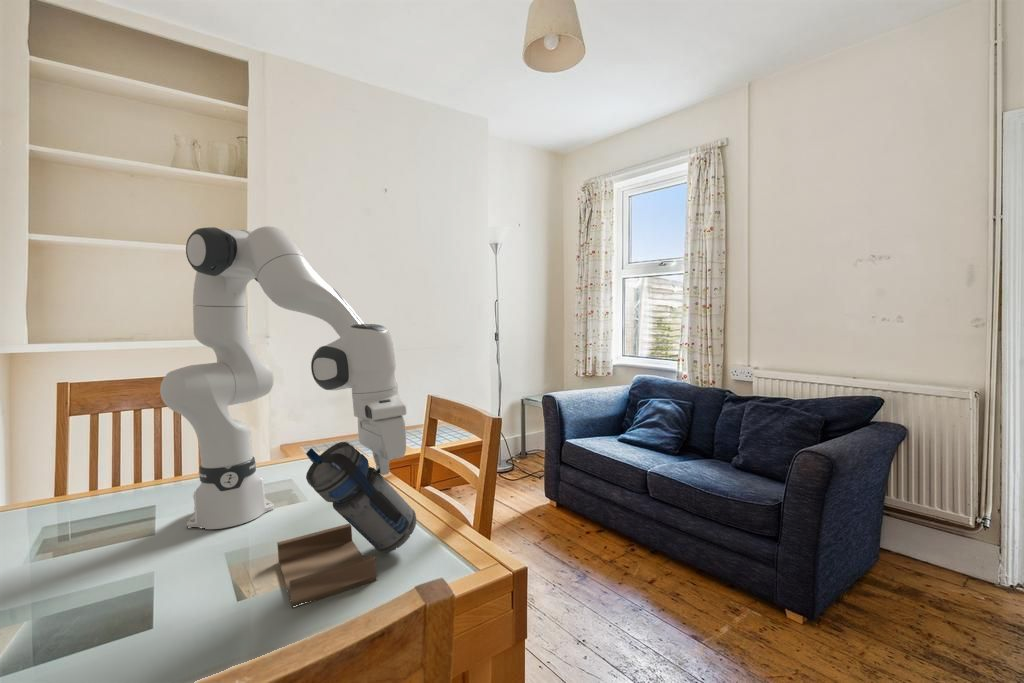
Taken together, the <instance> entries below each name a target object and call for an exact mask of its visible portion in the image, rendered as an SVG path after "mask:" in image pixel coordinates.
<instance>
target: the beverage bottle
mask: <svg viewBox="0 0 1024 683" xmlns="http://www.w3.org/2000/svg"><path fill="white" fill-rule="evenodd" d="M305 455H306V456H307V457H308V459H309V461H310V462H312V463H311V465H310V466H309V468H308V470H307V472H306V475H305V478H306V481H307V483H308V485H309V486H310V487H311V488H313V490H314V491H315V492H316V493H317V494H318V495H319V496H320V497H321V498H322V499H323V500H324V501H325V502H327V503H332V508H333V509H334V511H335V512H336V513H338V514H339V515H340V516H341V517H342V518H343V519H344V520H346V521H347V523H348V524H349V523H350V525H351V527H353V529H355V530H356V531H357V532H358V533H359V534H360V535H361V536H362V537H364V539H365V540H367V542H369V543H370V545H372V547H373V548H375V550H377V551H378V552H381V553H382V552H383V553H390V552H393V551H396V550H397V549H399V548H400V547H402V546H403V545H404V544H405V543H406V542H407V541H408V540H409V539H410V537H411V535H413V533H414V530H415V528H416V526H417V516H416V511H415V510H414V509H413V508H412V507H411V506H410V505H409V504H408V502H407V501H405V499H404V498H403V497H402V496H401V495H400V494H399V493H398V491H397V490H395V489H394V487H393V486H392V485H391V484H390V483H389V482H388V481H387V480H386V479H385V477H383V475H381V474H380V473H378V472H377V470H376V467H371V466H369V464H370V463H369V460H368V458H367V457H366V456H365V455H364V454H363V453H360V452H359V450H358V449H357V448H355V447H354V446H353V445H351V443H349V442H347V441H341V442H338V443H335V444H334V445H331V446H330V447H328V448H327V449H325V450H324V451H323V452H322V453H321V454H318V453H317V452H316V451H315V450H314V449H313V448H309V449H308V451H307V452H305Z"/></svg>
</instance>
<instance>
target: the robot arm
mask: <svg viewBox="0 0 1024 683" xmlns="http://www.w3.org/2000/svg"><path fill="white" fill-rule="evenodd" d="M185 254H186V259H187V261H188V263H189V265H190V266H191V268H192V269H193V270H194V271H196V273H195V276H194V283H193V284H194V285H193V295H192V313H193V314H192V315H193V320H192V322H193V335H194V337H195V339H196V340H197V341H198V342H199V343H200V344H201V345H203V346H205V347H207V348H211V349H212V350H213V352H214V353H215V356H216V362H210V363H200V364H190V365H186V366H184V367H183V366H182V367H180V368H177V369H174V370H171V371H169V372H167V374H165V375H164V377H163V379H162V381H161V382H160V386H159V387H160V389H159V391H160V397H161V400H162V402H163V403H164V405H165V406H166V407H167V408H168V409H170V410H171V411H173V412H175V413H177V414H179V415H181V416H182V417H183V418H185V419H186V421H188V422H189V423H190V425H191V426H192V428H193V430H194V432H195V434H196V437H197V442H198V448H199V456H200V466H199V471H198V474H199V481H200V482H201V483H200V484H199V485H198V487H197V488H196V490H195V491H194V492H193V495H192V496H193V502H194V506H193V507H194V513H193V514H192V516H191V517H190V518H189V520H188V521H187V522H186V526H188V527H202V528H205V529H204V530H218V529H227V528H231V527H235V526H239V525H243V524H245V523H248V522H251V521H253V520H255V519H257V518H259V517H261V516H262V515H264V514H265V513H267V512H269V511H271V510H273V509H274V508H275V504H274V503H273V502H271V501H270V500H269V499H267V497H266V493H265V486H264V479H263V478H262V477H261V476H259V475H258V474H257V473H256V471H257V468H256V465H257V462H256V458H255V457H254V454H253V442H252V431H251V428H250V427H249V426H248V425H247V424H246V423H244V422H242V421H241V420H237V419H234V418H232V417H231V415H230V412H229V409H228V406H231V405H232V406H233V405H234V406H235V405H238V404H243V403H244V404H245V403H248V402H252V401H255V400H257V399H259V398H263V397H264V396H267V395H268V394H269V393H270V392H271V390H272V388H273V386H274V373H273V371H272V369H271V367H270V365H269V364H268V363H267V362H265V361H263V360H262V359H260V358H259V357H258V355H257V354H256V353H255V351H254V350H253V348H252V346H251V343H250V342H251V341H250V340H249V336H248V325H247V324H248V321H247V296H246V295H247V294H246V293H247V292H246V289H247V285H248V284H249V282H251V281H252V280H255V281H256V282H257V283H258V284H259V286H260V287H261V289H262V290H263V293H264V294H265V295H266V296H267V297H268V298H269V299H270V301H272V302H273V303H274V304H275V305H276V306H278V307H280V308H283V309H285V310H288V311H293V312H297V313H301V314H305V315H309V316H312V317H315V318H318V319H320V320H322V321H324V322H326V323H327V325H330V327H331V328H332V329H333V330H334V331H335V333H336V334H337V335H338V336H339V338H337V339H336V340H334V341H332V342H329V343H328V344H326V345H322V346H319V348H317V350H316V351H315V352H314V353H313V356H312V359H311V363H310V365H311V366H310V367H311V368H310V369H311V375H312V377H313V379H314V381H315V383H316V384H317V386H319V387H320V388H322V389H323V390H325V391H340V390H347V389H351V396H352V408H353V417H356V418H357V430H358V432H357V433H358V441H359V444H360V445H361V446H363V447H365V448H366V449H368V450H370V451H371V452H372V457H373V460H374V462H375V469H376V470H377V472H378V473H379V474H380V475H381V476H386V475H389V474H390V472H391V470H390V464H391V463H390V462H391V461H392V460H397V459H401V458H404V457H405V456H406V453H407V434H406V433H407V432H406V421H405V418H404V416H406V415H407V406H406V404H405V402H404V401H403V400H402V399H401V397H400V394H399V387H398V384H397V381H396V378H395V371H396V366H397V365H396V356H395V349H394V344H393V343H394V342H393V339H392V336H391V333H390V331H389V330H388V328H387V327H385V326H384V325H380V324H376V323H372V324H369V323H368V324H367V323H365V322H364V321H363V320H362V319H361V317H360V316H359V315H358V314H357V313H356V312H355V310H354V308H352V307H351V305H350V304H349V303H348V301H347V300H346V299H345V298H344V297H343V296H342V294H340V293H339V292H338V291H337V290H336V289H335V288H333V287H332V286H331V285H330V284H329V283H328V282H326V281H325V280H324V279H323V278H322V277H321V276H320V275H319V274H318V272H317V271H316V270H315V268H314V267H312V265H311V264H310V263H309V261H308V259H307V257H306V256H305V255H304V254H303V252H302V250H301V249H300V248H299V246H297V244H296V243H295V242H294V240H292V239H291V237H289V235H288V234H286V232H285V231H283V230H282V229H280V228H279V227H275V226H268V225H267V226H262V227H258V228H255V229H253V231H251V230H245V229H230V228H229V229H228V228H218V227H213V226H212V227H209V226H208V227H201V228H197V229H195V230H194V231H193V232H192V233H191V234H190V235H189V237H188V238H187V241H186V246H185ZM202 528H201V529H202Z"/></svg>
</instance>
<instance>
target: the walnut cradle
mask: <svg viewBox="0 0 1024 683" xmlns="http://www.w3.org/2000/svg"><path fill="white" fill-rule="evenodd" d="M352 532H353V531H352V525H351V524H350V523H349V522H348V523H346V524H341V525H337V526H335V527H331V528H328V529H327V528H326V529H323V530H319V531H317V532H316V531H315V532H312V533H308V534H303V535H301V536H297V537H293V538H289V539H285V540H281V541H277V542H276V544H277V546H276V547H277V555H278V564H279V568H280V571H281V574H282V579H283V582H284V585H285V589H286V588H287V589H286V591H287V590H288V592H287V595H288V594H289V595H288V598H289V597H290V599H289V601H290V600H291V602H290V604H292V606H291V608H292V607H293V606H296V605H299V604H301V603H305V602H310V601H313V602H315V601H314V600H316V601H318V599H319V600H321V599H324V598H328V597H330V596H334V595H336V594H339V593H342V592H344V591H348V590H352V589H354V588H357V587H360V586H363V585H366V584H369V583H373V582H376V581H377V580H378V579H377V567H376V557H375V556H374V555H369V556H366V557H364V556H363V554H362V552H361V551H360V550H359V548H358V547H357V545H356V544H355V542H354V540H353V533H352ZM310 603H311V602H310Z"/></svg>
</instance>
